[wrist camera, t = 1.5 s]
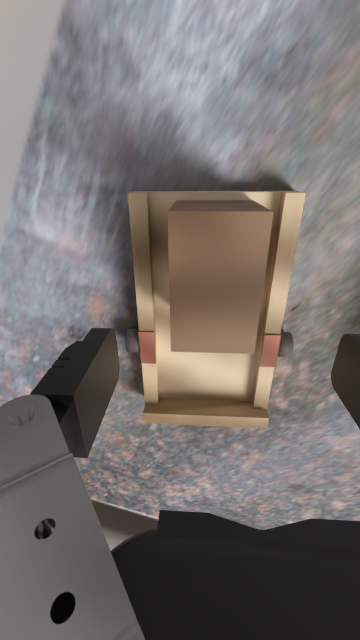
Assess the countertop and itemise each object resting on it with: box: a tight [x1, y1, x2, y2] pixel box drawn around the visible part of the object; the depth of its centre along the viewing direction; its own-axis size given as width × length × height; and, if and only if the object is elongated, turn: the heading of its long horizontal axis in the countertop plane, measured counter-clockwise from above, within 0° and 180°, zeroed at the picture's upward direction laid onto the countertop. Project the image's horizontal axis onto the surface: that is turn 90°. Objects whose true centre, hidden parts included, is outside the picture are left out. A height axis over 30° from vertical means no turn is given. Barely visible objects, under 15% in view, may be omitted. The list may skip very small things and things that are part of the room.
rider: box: [167, 200, 274, 354], centre depth 18 cm, size 8×5×6 cm, turn 0°
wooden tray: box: [126, 191, 306, 428], centre depth 23 cm, size 19×13×3 cm
